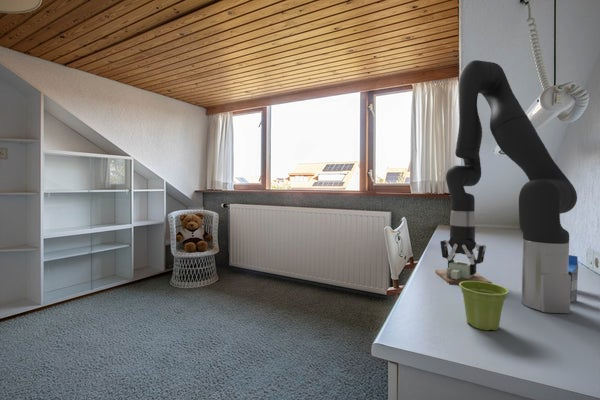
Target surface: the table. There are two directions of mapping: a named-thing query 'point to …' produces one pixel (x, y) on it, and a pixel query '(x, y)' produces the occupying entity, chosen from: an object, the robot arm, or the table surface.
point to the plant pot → (483, 303)
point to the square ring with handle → (460, 270)
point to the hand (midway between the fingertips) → (461, 272)
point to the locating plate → (447, 277)
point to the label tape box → (573, 276)
